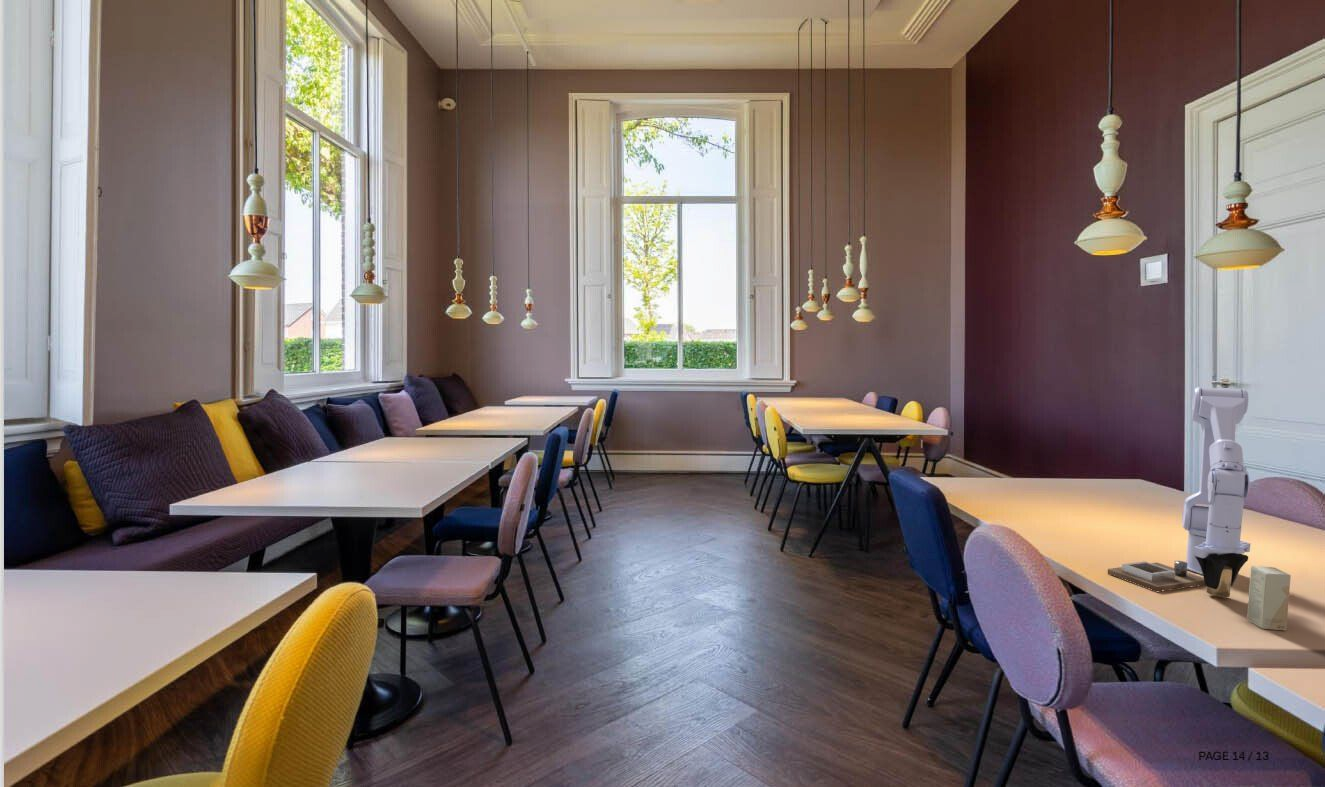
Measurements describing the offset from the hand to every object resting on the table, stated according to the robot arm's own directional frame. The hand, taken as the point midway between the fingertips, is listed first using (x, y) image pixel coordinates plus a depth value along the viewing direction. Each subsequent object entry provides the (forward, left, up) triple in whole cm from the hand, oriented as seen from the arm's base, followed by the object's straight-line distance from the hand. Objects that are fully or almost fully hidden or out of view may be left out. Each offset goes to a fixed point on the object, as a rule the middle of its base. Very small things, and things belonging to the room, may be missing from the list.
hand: (1218, 586), depth 153 cm
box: (+6, +13, -3) cm, 15 cm away
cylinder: (0, 0, -2) cm, 2 cm away
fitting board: (+2, -12, -2) cm, 12 cm away
